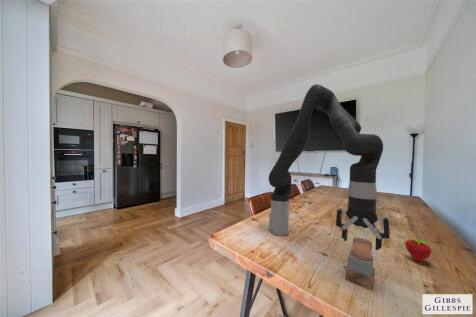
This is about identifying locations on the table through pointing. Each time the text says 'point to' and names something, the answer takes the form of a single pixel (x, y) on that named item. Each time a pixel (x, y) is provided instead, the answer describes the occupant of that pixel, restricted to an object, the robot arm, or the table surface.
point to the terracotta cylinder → (362, 249)
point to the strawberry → (418, 249)
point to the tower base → (360, 278)
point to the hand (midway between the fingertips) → (360, 244)
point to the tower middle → (360, 265)
